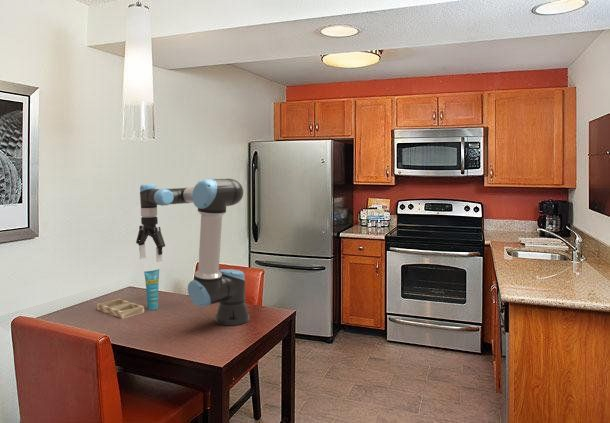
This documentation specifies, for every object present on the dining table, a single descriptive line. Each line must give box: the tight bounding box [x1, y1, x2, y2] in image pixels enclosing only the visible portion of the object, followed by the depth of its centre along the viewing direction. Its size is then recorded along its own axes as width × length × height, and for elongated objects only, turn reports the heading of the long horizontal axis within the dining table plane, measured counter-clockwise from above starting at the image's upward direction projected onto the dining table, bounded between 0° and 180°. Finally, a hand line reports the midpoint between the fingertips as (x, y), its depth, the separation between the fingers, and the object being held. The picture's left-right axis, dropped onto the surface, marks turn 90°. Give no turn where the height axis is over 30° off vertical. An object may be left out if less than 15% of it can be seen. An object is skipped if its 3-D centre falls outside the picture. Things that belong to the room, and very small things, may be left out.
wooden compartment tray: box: [96, 298, 145, 320], centre depth 226 cm, size 22×12×3 cm, turn 52°
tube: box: [143, 268, 160, 311], centre depth 229 cm, size 7×5×19 cm, turn 134°
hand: (150, 259), depth 228 cm, fingers open, 13 cm apart
